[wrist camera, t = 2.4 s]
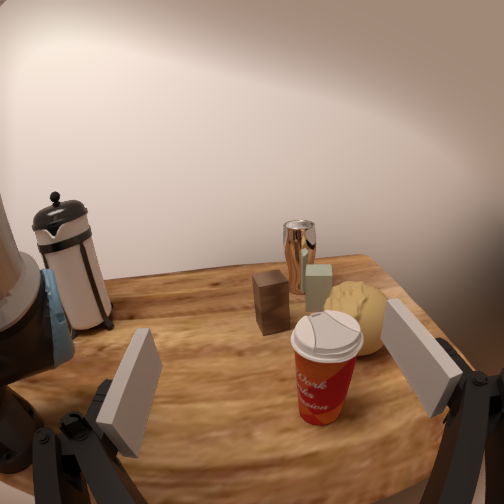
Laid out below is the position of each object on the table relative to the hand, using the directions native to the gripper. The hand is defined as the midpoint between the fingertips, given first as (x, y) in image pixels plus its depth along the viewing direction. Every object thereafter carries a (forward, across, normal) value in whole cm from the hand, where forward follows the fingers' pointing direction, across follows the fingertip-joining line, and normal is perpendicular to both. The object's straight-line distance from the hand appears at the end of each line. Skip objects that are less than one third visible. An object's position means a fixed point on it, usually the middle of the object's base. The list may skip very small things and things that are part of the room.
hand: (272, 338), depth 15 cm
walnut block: (+32, +2, -22) cm, 39 cm away
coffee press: (+38, -39, -22) cm, 58 cm away
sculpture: (+23, +15, -22) cm, 36 cm away
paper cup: (+11, +6, -22) cm, 25 cm away
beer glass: (+45, +10, -22) cm, 51 cm away
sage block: (+37, +12, -22) cm, 44 cm away
